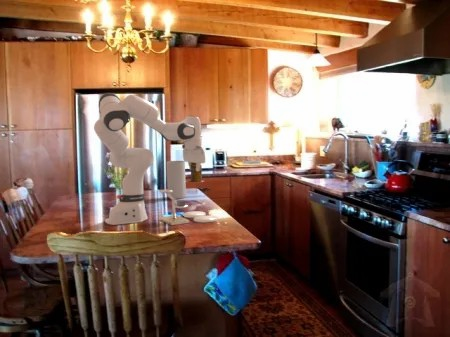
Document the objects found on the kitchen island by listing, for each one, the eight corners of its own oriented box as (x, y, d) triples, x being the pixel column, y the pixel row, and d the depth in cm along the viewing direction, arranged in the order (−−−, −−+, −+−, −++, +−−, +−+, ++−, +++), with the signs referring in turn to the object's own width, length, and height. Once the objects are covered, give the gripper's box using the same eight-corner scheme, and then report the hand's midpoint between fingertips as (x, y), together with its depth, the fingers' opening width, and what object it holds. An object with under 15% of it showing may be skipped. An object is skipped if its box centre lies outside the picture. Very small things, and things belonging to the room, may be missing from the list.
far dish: (188, 218, 249) (188, 217, 249) (178, 214, 260) (178, 213, 260) (209, 215, 255) (209, 214, 255) (199, 212, 267) (199, 210, 267)
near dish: (200, 223, 236) (200, 221, 236) (189, 219, 248) (189, 217, 248) (222, 220, 243) (222, 218, 243) (211, 216, 254) (210, 214, 254)
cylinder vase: (165, 197, 323) (164, 161, 320) (182, 195, 328) (181, 160, 326) (171, 199, 312) (169, 162, 309) (188, 198, 317) (187, 161, 314)
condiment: (204, 181, 256) (204, 159, 254) (191, 182, 251) (191, 160, 250) (198, 180, 262) (197, 159, 260) (185, 181, 257) (184, 160, 256)
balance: (175, 227, 230) (174, 196, 229) (156, 218, 253) (155, 190, 252) (193, 224, 235) (192, 194, 234) (173, 215, 258) (172, 188, 256)
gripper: (207, 145, 247) (208, 171, 248) (190, 144, 264) (191, 168, 266) (197, 146, 244) (198, 172, 245) (180, 145, 261) (181, 169, 262)
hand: (194, 170), depth 255 cm, fingers closed on condiment, 6 cm apart
